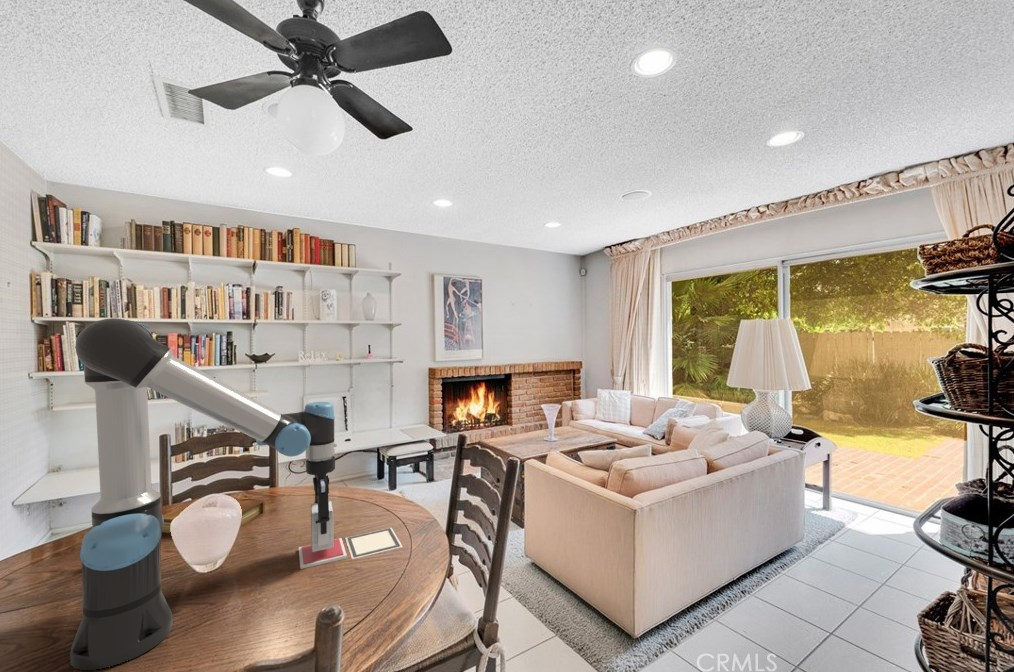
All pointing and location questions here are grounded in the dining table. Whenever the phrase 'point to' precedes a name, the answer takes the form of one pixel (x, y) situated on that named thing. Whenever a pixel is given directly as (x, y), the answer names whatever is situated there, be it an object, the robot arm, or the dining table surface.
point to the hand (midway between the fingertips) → (322, 537)
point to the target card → (372, 543)
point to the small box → (315, 528)
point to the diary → (249, 508)
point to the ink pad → (321, 554)
